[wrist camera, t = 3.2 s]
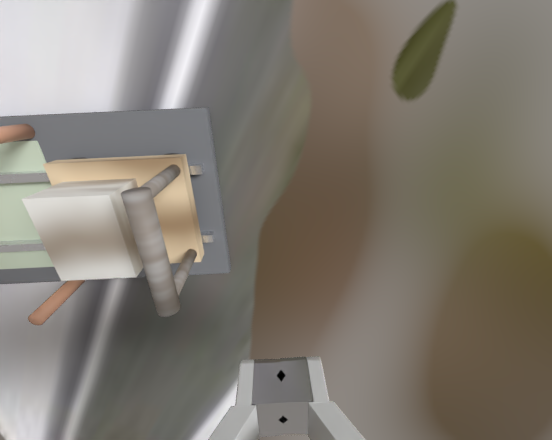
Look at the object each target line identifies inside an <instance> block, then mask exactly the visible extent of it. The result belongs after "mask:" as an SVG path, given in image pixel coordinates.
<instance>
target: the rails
mask: <svg viewBox="0 0 552 440" xmlns="http://www.w3.org/2000/svg"><path fill="white" fill-rule="evenodd" d="M188 168H189V173H190V175H199V174H203V173H204V165H203V163H189V164H188ZM48 181H50V180H49V178H48V175H47V173H46V171H45V170H42V171H21V172H0V184H5V183H26V182H48ZM200 233H201V238H202V243H207V242H213V241H214V239H215V234H214V231H200ZM40 250H46V249H45V246H44V244H43V242H42V240H41V239H35V240H14V241H0V252H19V251H40Z"/></svg>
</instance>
